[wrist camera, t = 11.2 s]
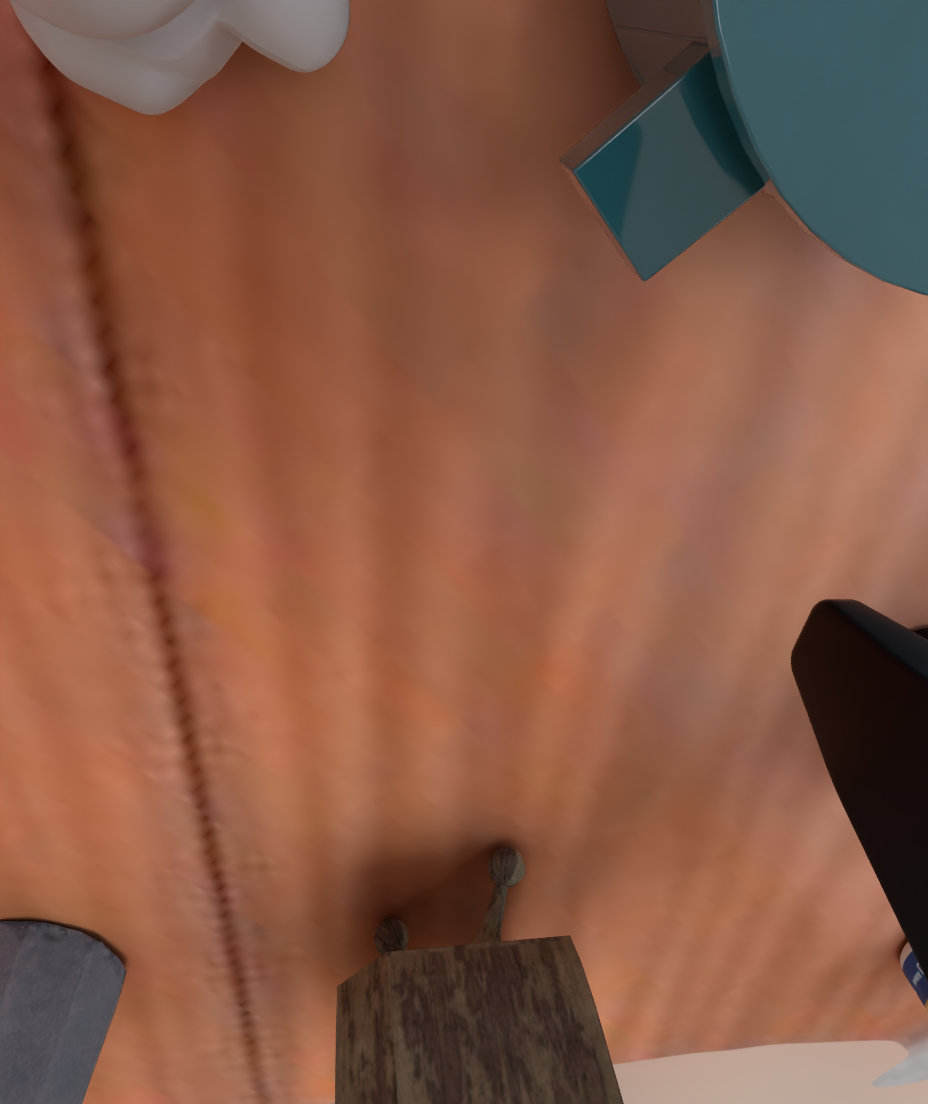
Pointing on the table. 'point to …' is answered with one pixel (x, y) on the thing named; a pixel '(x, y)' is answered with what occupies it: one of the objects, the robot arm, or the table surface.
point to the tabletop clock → (472, 1019)
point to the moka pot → (53, 1010)
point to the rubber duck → (176, 41)
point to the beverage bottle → (914, 974)
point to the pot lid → (835, 120)
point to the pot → (663, 141)
